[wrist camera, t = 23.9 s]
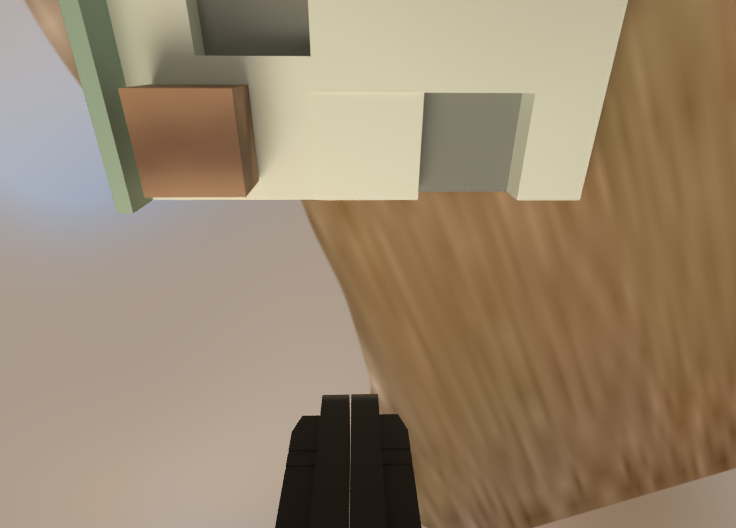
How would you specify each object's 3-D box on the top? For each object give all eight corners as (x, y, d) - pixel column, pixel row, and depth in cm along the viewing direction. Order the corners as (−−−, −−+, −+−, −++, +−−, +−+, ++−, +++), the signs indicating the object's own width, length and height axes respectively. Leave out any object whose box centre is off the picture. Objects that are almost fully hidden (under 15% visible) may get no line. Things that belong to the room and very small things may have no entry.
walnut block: (151, 84, 25) (117, 88, 22) (249, 84, 26) (231, 88, 22) (171, 179, 28) (144, 197, 25) (260, 179, 28) (246, 197, 25)
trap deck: (88, -82, 24) (26, -116, 19) (622, -75, 24) (682, -105, 20) (152, 190, 31) (117, 213, 26) (563, 190, 31) (598, 211, 27)
